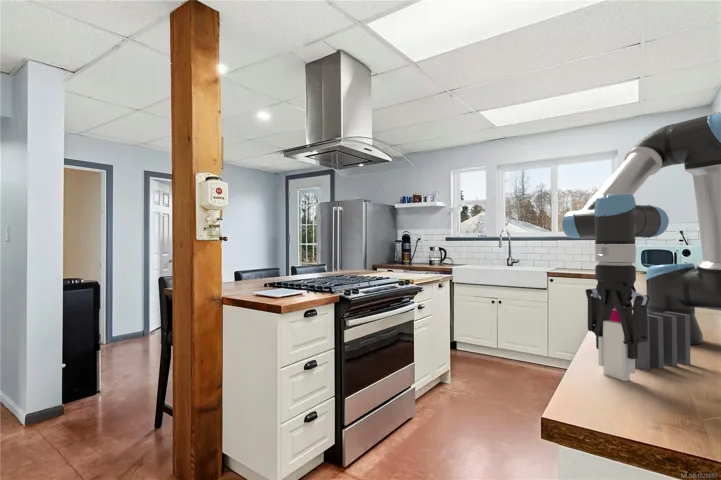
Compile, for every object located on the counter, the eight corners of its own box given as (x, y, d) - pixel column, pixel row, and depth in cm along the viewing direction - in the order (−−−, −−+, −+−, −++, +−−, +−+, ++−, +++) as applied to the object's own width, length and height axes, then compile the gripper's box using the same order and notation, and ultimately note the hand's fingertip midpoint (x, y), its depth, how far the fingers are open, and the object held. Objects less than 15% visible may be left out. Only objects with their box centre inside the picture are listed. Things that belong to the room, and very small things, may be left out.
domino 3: (655, 360, 97) (655, 312, 97) (677, 366, 92) (676, 316, 92) (651, 360, 97) (650, 312, 97) (672, 366, 92) (671, 316, 92)
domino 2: (642, 361, 96) (642, 313, 96) (663, 367, 91) (663, 317, 91) (637, 362, 95) (637, 313, 95) (658, 368, 91) (658, 317, 91)
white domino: (608, 372, 88) (608, 320, 88) (629, 380, 83) (629, 324, 83) (603, 373, 87) (602, 320, 87) (624, 380, 82) (623, 325, 83)
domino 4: (668, 358, 98) (668, 311, 99) (690, 364, 94) (689, 314, 94) (664, 358, 98) (663, 311, 98) (685, 364, 93) (685, 315, 93)
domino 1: (629, 363, 94) (628, 314, 95) (649, 369, 90) (649, 318, 90) (624, 364, 94) (623, 315, 94) (644, 370, 89) (644, 318, 89)
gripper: (568, 262, 93) (569, 358, 93) (642, 266, 76) (644, 385, 75) (592, 261, 95) (593, 356, 95) (670, 265, 78) (671, 380, 78)
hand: (616, 368), depth 85 cm, fingers closed on white domino, 5 cm apart
